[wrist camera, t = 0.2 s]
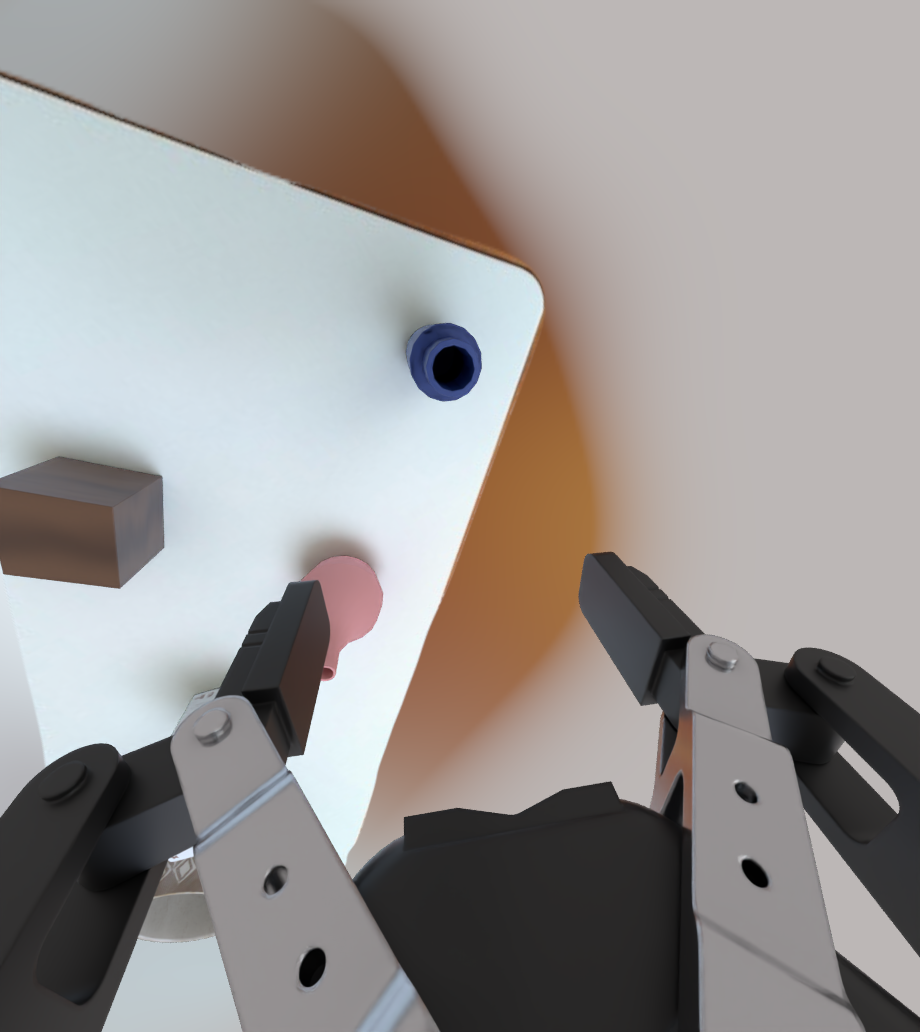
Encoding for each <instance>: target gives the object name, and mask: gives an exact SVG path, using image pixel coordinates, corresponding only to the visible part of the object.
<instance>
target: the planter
mask: <svg viewBox="0 0 920 1032" xmlns="http://www.w3.org/2000/svg"><path fill="white" fill-rule="evenodd" d="M213 936H216V935H215V931H214V928H213V924H212V921H211V917H210V914H209V910H208V907H207V903H206V900H205V896H204V892H203V889H202V885H201V882H200V878H199V875H198V871H197V868H196V864H195V860H194V856H193V857H190V858H186V859H183V860H179V861H174V862H170V861H168V862H167V864H166V867H165V869H164V872H163V875H162V877H161V880H160V882H159V885H158V887H157V890H156V893H155V895H154V898H153V900H152V903H151V905H150V908H149V911H148V913H147V916H146V918H145V921H144V923H143V926H142V928H141V931H140V934H139V936H138V939H141V940H145V941H151V942H162V943H174V942H175V943H177V942H189V941H196V940H200V939H205V938H209V937H213Z"/></svg>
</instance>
